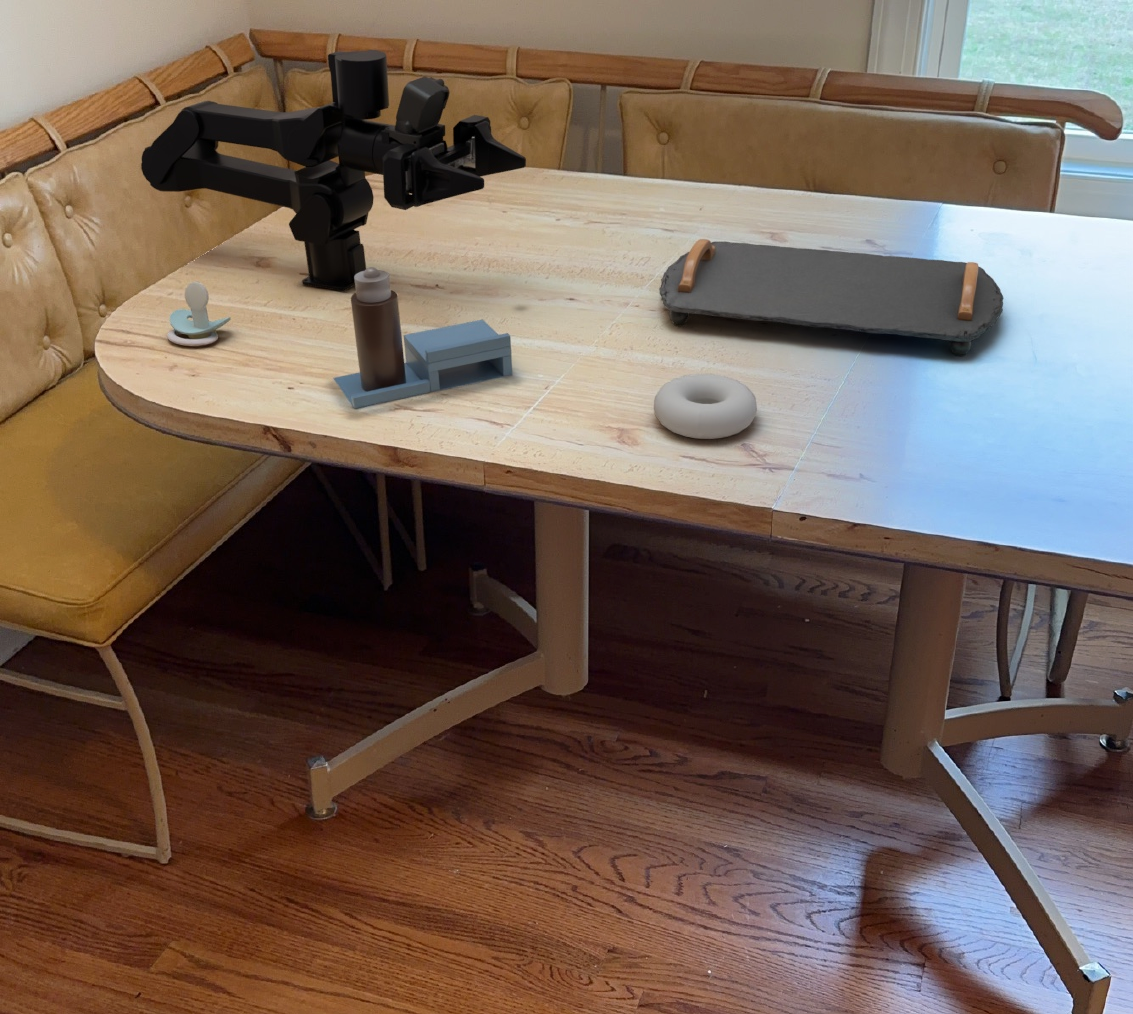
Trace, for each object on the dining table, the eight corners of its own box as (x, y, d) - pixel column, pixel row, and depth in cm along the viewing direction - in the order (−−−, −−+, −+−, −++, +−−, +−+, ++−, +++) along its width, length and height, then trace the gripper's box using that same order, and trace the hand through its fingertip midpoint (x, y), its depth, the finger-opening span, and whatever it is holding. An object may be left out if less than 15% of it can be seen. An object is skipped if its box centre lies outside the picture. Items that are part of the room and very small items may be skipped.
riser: (333, 384, 126) (327, 338, 124) (484, 352, 132) (482, 308, 130) (355, 415, 120) (349, 368, 118) (513, 381, 126) (510, 335, 123)
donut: (743, 396, 122) (646, 400, 122) (746, 365, 120) (647, 369, 120) (766, 443, 114) (661, 448, 113) (769, 410, 112) (662, 415, 111)
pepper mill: (352, 389, 124) (337, 272, 117) (376, 371, 127) (363, 256, 120) (391, 397, 122) (378, 278, 115) (414, 378, 125) (403, 262, 119)
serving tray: (1001, 287, 145) (1010, 237, 142) (996, 367, 126) (1006, 312, 123) (686, 259, 156) (688, 212, 152) (639, 328, 137) (639, 276, 134)
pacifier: (206, 353, 134) (240, 331, 139) (195, 301, 131) (229, 280, 135) (155, 343, 137) (190, 322, 141) (142, 292, 133) (178, 272, 138)
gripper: (333, 94, 128) (459, 116, 122) (429, 62, 142) (546, 80, 136) (340, 198, 134) (460, 224, 128) (432, 157, 148) (544, 178, 142)
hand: (504, 172), depth 133 cm, fingers open, 9 cm apart
